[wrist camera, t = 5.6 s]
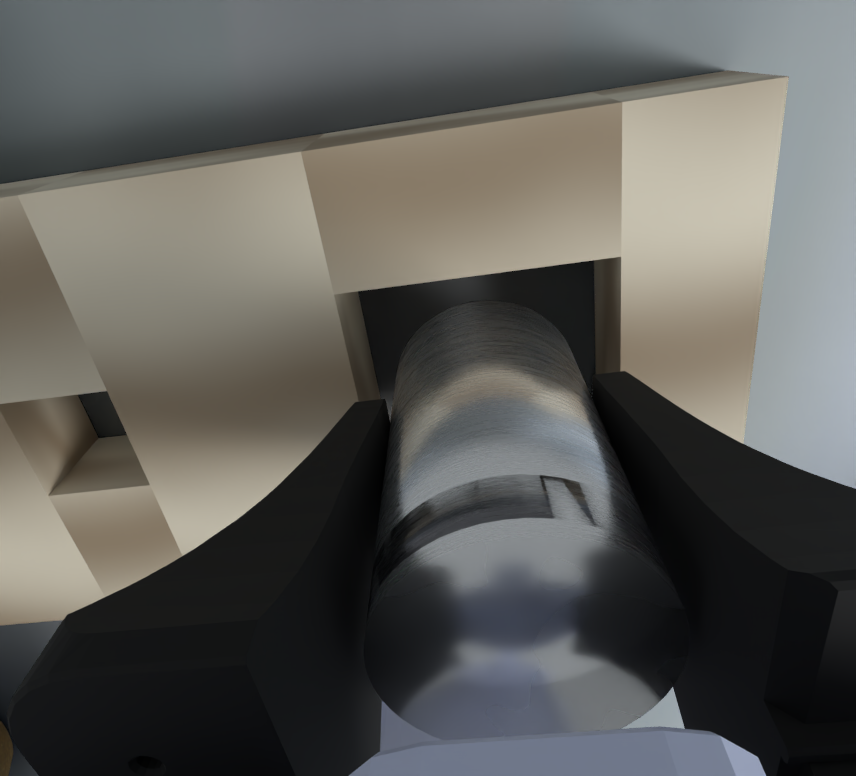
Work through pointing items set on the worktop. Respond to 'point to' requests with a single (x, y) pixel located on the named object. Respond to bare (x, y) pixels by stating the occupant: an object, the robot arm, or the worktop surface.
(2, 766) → the plant pot
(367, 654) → the silver metal cylinder
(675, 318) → the board
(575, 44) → the worktop surface
